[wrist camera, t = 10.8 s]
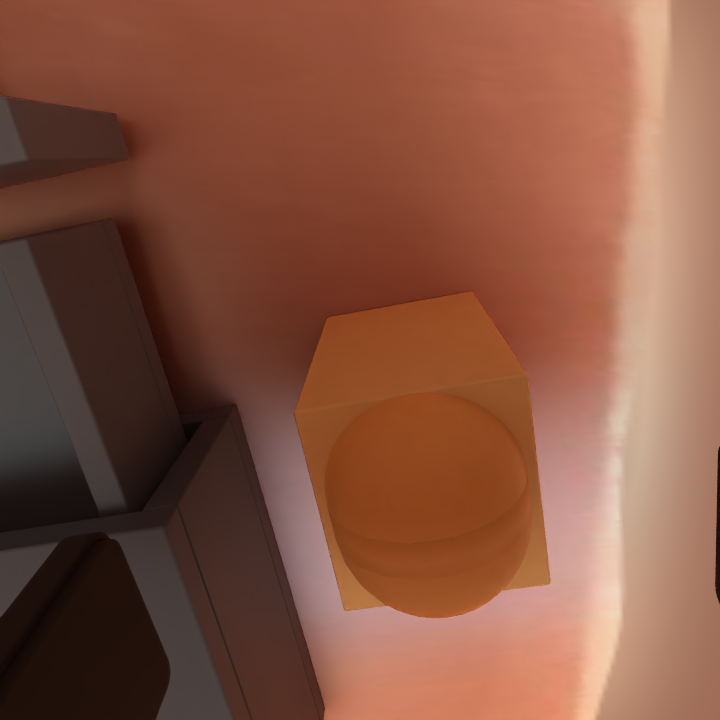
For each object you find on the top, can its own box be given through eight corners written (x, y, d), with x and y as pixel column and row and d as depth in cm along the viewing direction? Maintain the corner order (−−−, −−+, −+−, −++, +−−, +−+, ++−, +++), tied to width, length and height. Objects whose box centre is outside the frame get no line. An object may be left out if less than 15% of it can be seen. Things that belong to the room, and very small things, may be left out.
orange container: (326, 317, 18) (277, 456, 10) (472, 290, 18) (554, 412, 9) (357, 456, 20) (338, 680, 11) (492, 435, 19) (577, 652, 11)
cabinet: (-147, 469, 21) (-383, 609, 14) (236, 404, 19) (163, 527, 13) (4, 745, 25) (-126, 946, 19) (325, 708, 24) (303, 913, 17)
